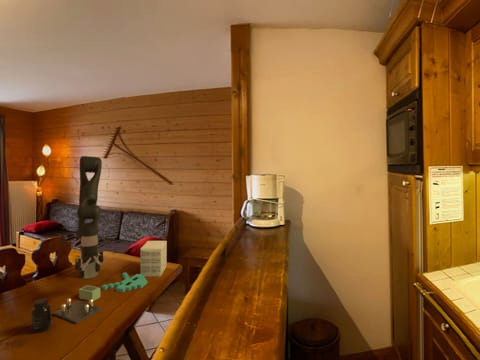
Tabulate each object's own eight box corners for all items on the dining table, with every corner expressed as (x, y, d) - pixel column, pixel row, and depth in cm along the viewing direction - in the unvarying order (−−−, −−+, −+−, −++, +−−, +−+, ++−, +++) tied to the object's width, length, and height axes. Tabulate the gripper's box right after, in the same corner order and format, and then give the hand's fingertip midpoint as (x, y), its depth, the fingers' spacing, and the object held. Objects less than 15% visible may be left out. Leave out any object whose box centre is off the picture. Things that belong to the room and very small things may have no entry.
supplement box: (147, 266, 184) (147, 240, 183) (166, 266, 185) (167, 240, 184) (139, 276, 167) (139, 248, 166) (161, 276, 168) (161, 248, 167)
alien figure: (101, 290, 149) (134, 294, 145) (101, 286, 149) (134, 290, 145) (124, 275, 169) (153, 279, 165) (124, 272, 169) (153, 275, 165)
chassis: (53, 314, 123) (53, 303, 123) (78, 302, 134) (78, 292, 134) (76, 323, 117) (76, 312, 117) (100, 310, 128) (100, 300, 127)
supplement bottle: (38, 323, 116) (37, 297, 116) (54, 323, 117) (54, 296, 116) (27, 333, 110) (26, 305, 109) (44, 333, 110) (44, 305, 109)
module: (79, 298, 139) (79, 288, 139) (87, 294, 144) (87, 284, 143) (92, 301, 136) (92, 291, 136) (100, 297, 141) (100, 287, 140)
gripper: (97, 239, 146) (97, 268, 147) (71, 246, 133) (71, 278, 134) (106, 241, 143) (106, 270, 144) (81, 248, 130) (81, 281, 131)
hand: (90, 274), depth 139 cm, fingers open, 8 cm apart
